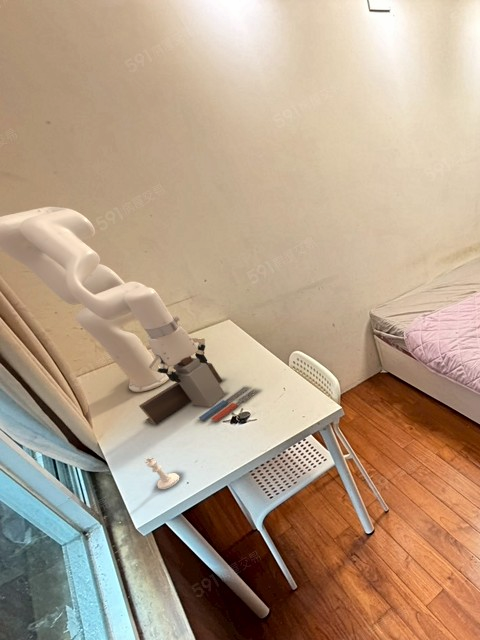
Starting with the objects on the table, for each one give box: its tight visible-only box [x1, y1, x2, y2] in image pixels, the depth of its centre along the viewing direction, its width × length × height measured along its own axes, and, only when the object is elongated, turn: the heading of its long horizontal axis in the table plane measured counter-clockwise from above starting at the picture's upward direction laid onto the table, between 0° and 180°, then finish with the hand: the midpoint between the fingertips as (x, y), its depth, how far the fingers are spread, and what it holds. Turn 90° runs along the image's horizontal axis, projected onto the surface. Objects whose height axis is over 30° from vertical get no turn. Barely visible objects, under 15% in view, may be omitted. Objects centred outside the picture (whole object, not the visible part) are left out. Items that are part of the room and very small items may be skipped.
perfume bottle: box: [173, 355, 226, 408], centre depth 128 cm, size 7×7×18 cm
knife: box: [198, 387, 249, 422], centre depth 131 cm, size 2×17×1 cm, turn 159°
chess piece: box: [144, 456, 180, 490], centre depth 103 cm, size 5×5×10 cm
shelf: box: [138, 362, 223, 426], centre depth 131 cm, size 5×24×8 cm, turn 159°
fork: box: [210, 389, 259, 423], centre depth 130 cm, size 3×16×1 cm, turn 159°
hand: (191, 372), depth 127 cm, fingers open, 9 cm apart
